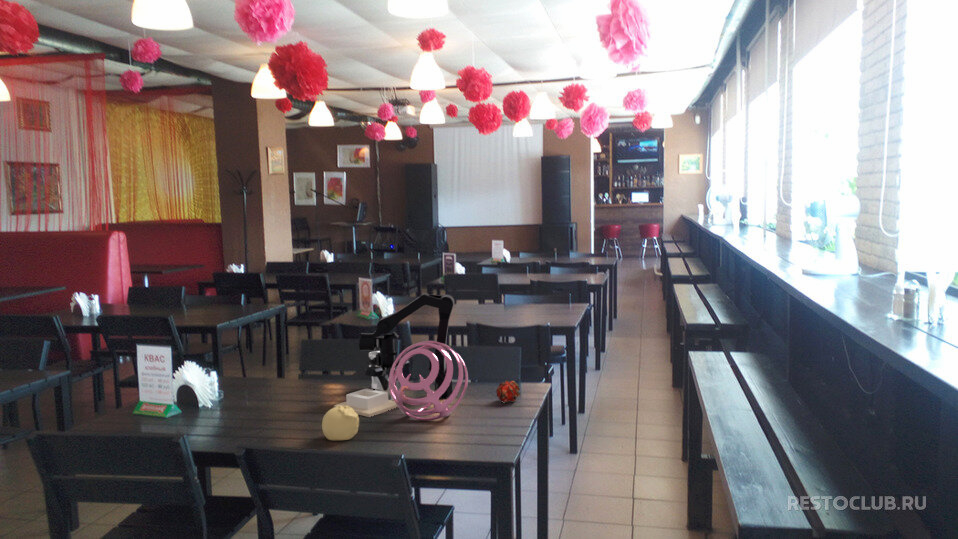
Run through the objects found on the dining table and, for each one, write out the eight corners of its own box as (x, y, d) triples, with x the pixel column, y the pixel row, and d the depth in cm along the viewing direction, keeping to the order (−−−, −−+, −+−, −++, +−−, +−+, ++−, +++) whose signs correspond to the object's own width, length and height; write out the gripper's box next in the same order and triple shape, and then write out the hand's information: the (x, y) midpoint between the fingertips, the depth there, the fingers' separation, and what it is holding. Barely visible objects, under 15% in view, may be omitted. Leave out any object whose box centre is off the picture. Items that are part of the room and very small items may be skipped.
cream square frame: (401, 405, 261) (401, 392, 260) (369, 417, 248) (368, 402, 248) (366, 398, 273) (365, 385, 273) (333, 408, 261) (332, 394, 261)
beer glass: (385, 389, 284) (383, 353, 283) (368, 390, 284) (366, 354, 283) (388, 385, 291) (386, 350, 290) (371, 386, 291) (369, 350, 290)
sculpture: (363, 440, 224) (361, 408, 223) (325, 446, 220) (323, 413, 219) (357, 430, 235) (355, 398, 234) (321, 435, 231) (318, 403, 230)
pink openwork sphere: (424, 348, 268) (399, 319, 245) (488, 370, 257) (468, 342, 234) (392, 415, 258) (363, 391, 235) (458, 441, 247) (433, 419, 224)
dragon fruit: (517, 401, 266) (505, 414, 256) (499, 387, 268) (486, 400, 257) (527, 385, 262) (515, 398, 252) (509, 371, 264) (497, 384, 254)
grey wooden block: (401, 398, 271) (400, 379, 270) (393, 401, 268) (392, 382, 267) (385, 395, 276) (384, 376, 276) (378, 397, 273) (376, 378, 273)
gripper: (390, 343, 283) (392, 381, 284) (354, 352, 268) (357, 391, 270) (409, 346, 275) (411, 384, 277) (374, 355, 261) (376, 396, 263)
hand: (389, 389), depth 272 cm, fingers open, 4 cm apart
